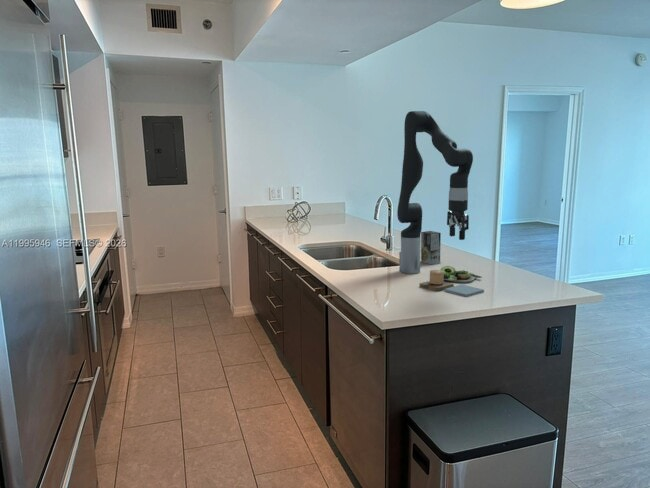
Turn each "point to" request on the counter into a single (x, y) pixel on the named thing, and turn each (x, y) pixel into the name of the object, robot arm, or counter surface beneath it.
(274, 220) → the counter surface
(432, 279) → the cap
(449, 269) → the salad plate
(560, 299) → the counter surface
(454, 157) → the robot arm
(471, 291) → the tile
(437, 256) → the coffee box
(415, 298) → the counter surface
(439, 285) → the post stand
